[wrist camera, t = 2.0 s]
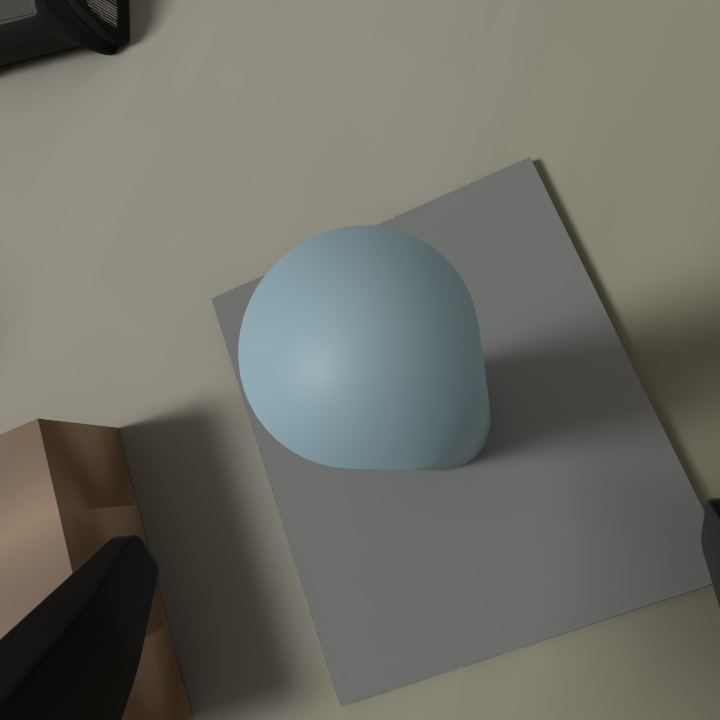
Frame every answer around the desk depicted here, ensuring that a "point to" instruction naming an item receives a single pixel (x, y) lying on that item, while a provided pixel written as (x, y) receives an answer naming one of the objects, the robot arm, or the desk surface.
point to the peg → (367, 354)
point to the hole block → (76, 538)
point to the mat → (494, 472)
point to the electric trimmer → (61, 27)
